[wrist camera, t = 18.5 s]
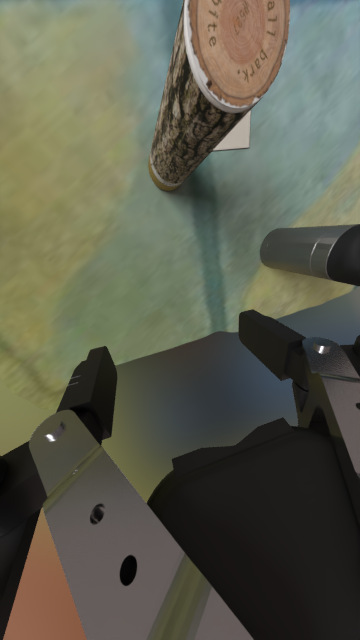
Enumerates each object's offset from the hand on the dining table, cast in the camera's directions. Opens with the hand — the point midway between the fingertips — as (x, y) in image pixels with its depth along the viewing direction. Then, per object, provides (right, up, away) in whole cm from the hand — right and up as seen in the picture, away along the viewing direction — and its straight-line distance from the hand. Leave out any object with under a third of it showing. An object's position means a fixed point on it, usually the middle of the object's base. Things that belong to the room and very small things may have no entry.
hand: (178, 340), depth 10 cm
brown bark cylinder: (-3, +30, +22) cm, 37 cm away
